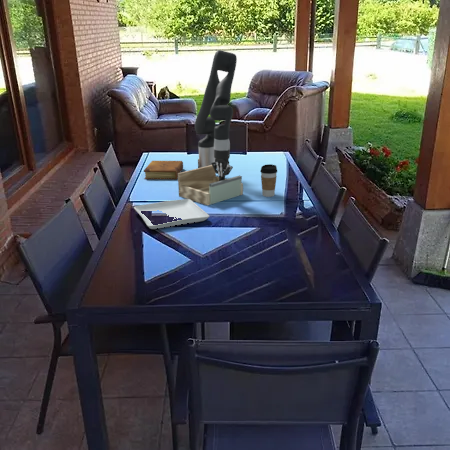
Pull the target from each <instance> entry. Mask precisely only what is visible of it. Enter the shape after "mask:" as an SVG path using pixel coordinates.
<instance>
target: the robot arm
mask: <svg viewBox="0 0 450 450" xmlns="http://www.w3.org/2000/svg"><path fill="white" fill-rule="evenodd" d="M237 58H238V57H237V55H236V54H235V53H232V52H228V51H225V50H216V52H215V53H214V55H213V60H212V63H211V67H210V68H211V69H210V73H209V77H208V80H207V84H206V88H205V91H204V94H203V98H202V102H201V105H200V108H199V111H198V113H197V116H196V119H195V120H194V121H195V122H194V131H195V133H196V134H197V135H205V137H203V138H202V139H200V140H199V141H198V142H197V143H198V144H197V145H198V158H197V168H201V167H206V166H210V165H212V166H213V168H214V170H215V172H216V175H218V177H219V181H221V180H225V179H226V176H228V175H229V174H230V173H231V172H232V170H233V166H232V165H230V160H229V159H230V156H231V153H230V152H231V151H230V150H231V143H230V126H231V122H232V119H233V115H234V109H233V107H232V106H231V104H230V102H231V94H232V85H233V81H234V76H235V71H236V68H237V61H238V59H237ZM218 71H220V72H224V73H227V74H226V75H225V77H223V79H222V80H220V79H219V74H218ZM229 104H230V105H229ZM216 121H221V122H223V121H224V123H223V124H220V125H219V124H218V125H217V124H216Z"/></svg>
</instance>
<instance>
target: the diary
mask: <svg viewBox="0 0 450 450" xmlns="http://www.w3.org/2000/svg"><path fill="white" fill-rule="evenodd" d="M183 169H184V162H183V160H151V161H150V162H149V164H148V165H146V167H145V168H144V170H143V173H144V175H145V177H144V178H143V180H178V173H181V172H183Z"/></svg>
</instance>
